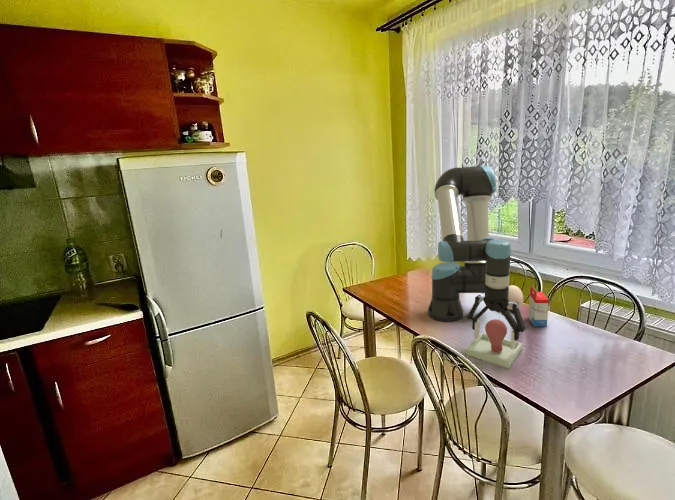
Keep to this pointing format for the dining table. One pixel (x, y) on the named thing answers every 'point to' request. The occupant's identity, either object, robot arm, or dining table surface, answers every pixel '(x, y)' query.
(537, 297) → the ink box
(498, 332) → the light bulb
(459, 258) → the robot arm
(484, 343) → the tray
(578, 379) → the dining table surface
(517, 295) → the egg
